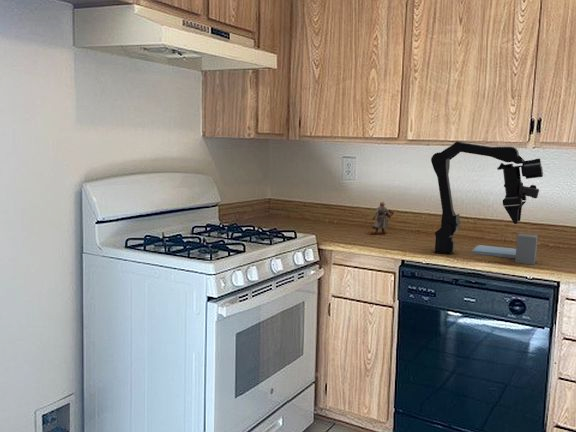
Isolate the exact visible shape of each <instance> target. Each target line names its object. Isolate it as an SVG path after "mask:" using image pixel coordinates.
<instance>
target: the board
mask: <svg viewBox="0 0 576 432" xmlns="http://www.w3.org/2000/svg"><path fill="white" fill-rule="evenodd" d="M471 254H474V255H482V256H483V255H484V256H491V257H492V256H493V257H501V258H508V259H509V258H510V259H515V257H516V248H510V247H500V246H492V245H481V244H477V245H476V246H475V248H473V249H471Z"/></svg>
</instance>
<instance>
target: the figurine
mask: <svg viewBox="0 0 576 432" xmlns="http://www.w3.org/2000/svg"><path fill="white" fill-rule="evenodd" d="M385 205H386V204H385V202H384V201H380V203H379V206H378V207H376V211H375V212H374V214H373V216H372V220H373V221H374V220H375V219H376V220H375V222H374V223H373V224H372V225H371V226H370V228H372V229H373V230H375V231H374V234H375V235H379V229H381V234H387V231H385V230H386V229H388V228H389V220H388V219H391V218H392V216H393V215H394V214H395V212H394V211H392V210H391V209H388V208H387V207H385ZM376 216H377V217H376Z"/></svg>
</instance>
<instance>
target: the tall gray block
mask: <svg viewBox="0 0 576 432" xmlns="http://www.w3.org/2000/svg"><path fill="white" fill-rule="evenodd" d="M538 237H539V235H538V234H531V233H518V235H516V245H515V246H516V248H515V249H516V257H515V258H514V259H515V260H514V263H516V264H524V265H531V266H532V265H535V263H536V259H537V249H538V248H537V247H538Z"/></svg>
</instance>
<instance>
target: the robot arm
mask: <svg viewBox="0 0 576 432" xmlns="http://www.w3.org/2000/svg"><path fill="white" fill-rule="evenodd" d="M460 153H465V154H470V155H471V154H472V155H478V156H479V155H480V156H483V157H484V156H486V157H490V158H493V159H496V160H499V161H502V162H501V163H500V164H499V166H498V167H497V168H496V169H497V170H498V171H499V170H502V171H503V179H504V180H503V181H504V184H503V188H504V190H505V195H504V196H505V197H504V199H502V206H503V208H504V209H505V211H506V213H507V214H508V216H509V217H510V219H511V221H512V223H513V224H514V225H517V224H518V223H519V222H520V221H521V218H522V209H523V206H524V205H525V203H526V202H527V197H530V198H533V199H537V198H538V195H539V193H540V189H539V188H537V185H536V184H531V185H530V186H525V185H524V182H522V177H525V179H526V180H529V179H536V178H538V179H539V178H543V176H544V172H543V166H542V162H541V158H535V159H530V160H529V159H528V160H525V159H524V158H523V157H521V156H520V155H519V154H520V153H519V150H518V149H517V147H514V146H489V145H483V144H482V145H480V144H476V143H475V144H474V143H467V142H463V141H455V142H454V143H453V144H452V145H450V146H448V147H446V148H445V149H444V150H442V151H441V152H439V151H438V152H436V153H434V154H433V155H432V156H431V158H430V159H431V160H430V161H431V165H432V168H433V171H434V173H435V175H436V177H437V184H438V191H439V196H440V203H441V204H440V205H441V210H442V212H441V213H442V214H441V221H440V222H441V224H440V228H438V230H437V231H435V232H434V236H435V242H434V250H433V253H435V254H436V253H437V254H445V255H451V254H453V253H454V252H455V240H454V237H453V236H454V235H455V233H456V232H458V230H459V229H460V227H461V226H460V225H462V223H461V221H460V214H459V213H457V214H456V212H455V210H454V205H453V204H454V203H453V197H452V189H451V183H450V177H449V173H450V167H451V165H450V162H451V160H452V159H454V158H455V157H456V156H457V155H459V154H460ZM503 162H505V163H507V164H504V163H503ZM513 163H515V164H516V165H515V166H514V164H513ZM521 176H522V177H521Z"/></svg>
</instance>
